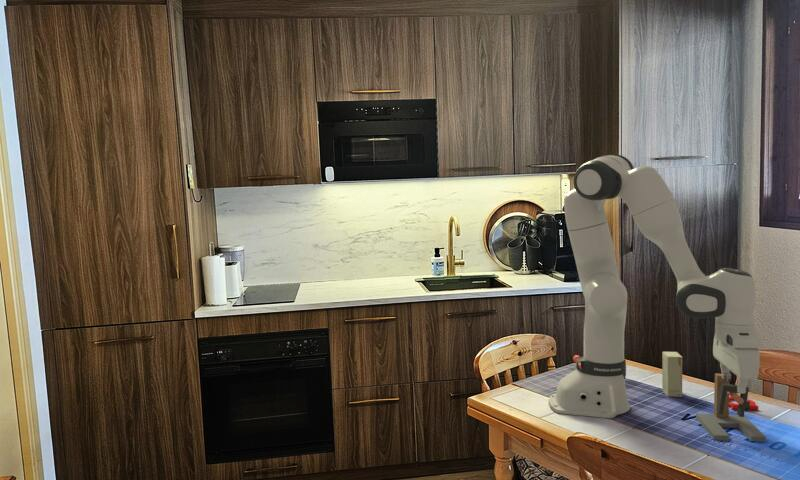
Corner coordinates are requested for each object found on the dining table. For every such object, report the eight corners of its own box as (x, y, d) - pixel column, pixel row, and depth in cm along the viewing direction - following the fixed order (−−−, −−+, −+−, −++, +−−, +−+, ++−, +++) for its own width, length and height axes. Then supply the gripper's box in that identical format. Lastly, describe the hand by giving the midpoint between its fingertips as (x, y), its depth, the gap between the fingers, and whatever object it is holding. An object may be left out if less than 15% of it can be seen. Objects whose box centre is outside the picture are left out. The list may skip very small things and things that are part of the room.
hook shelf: (714, 439, 152) (715, 390, 151) (695, 417, 166) (696, 372, 164) (766, 441, 150) (767, 391, 149) (743, 419, 164) (744, 373, 163)
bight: (718, 413, 155) (723, 385, 154) (716, 410, 157) (721, 382, 156) (743, 417, 154) (748, 388, 153) (740, 414, 156) (745, 386, 155)
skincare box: (682, 397, 181) (683, 357, 180) (667, 397, 182) (667, 357, 180) (676, 389, 187) (677, 351, 186) (661, 389, 188) (662, 350, 187)
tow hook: (717, 400, 179) (729, 410, 170) (717, 356, 179) (729, 364, 170) (748, 400, 178) (761, 411, 169) (748, 357, 177) (762, 365, 168)
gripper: (707, 322, 164) (706, 372, 165) (736, 343, 144) (735, 400, 145) (732, 323, 163) (730, 373, 164) (765, 343, 143) (763, 400, 144)
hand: (733, 386), depth 155 cm, fingers open, 8 cm apart
